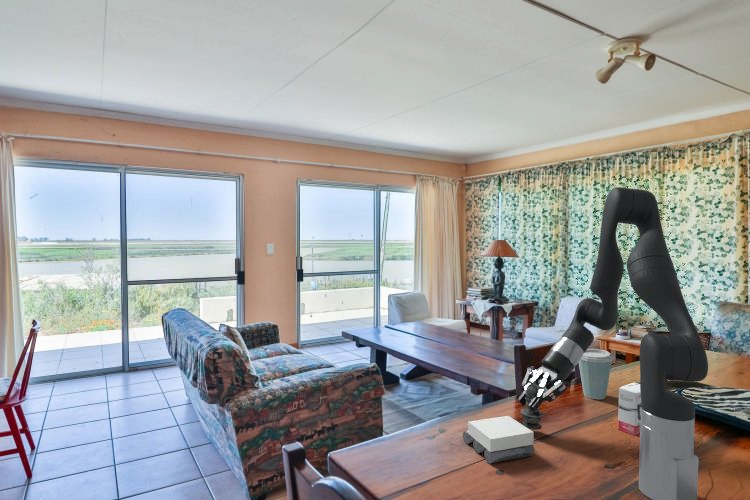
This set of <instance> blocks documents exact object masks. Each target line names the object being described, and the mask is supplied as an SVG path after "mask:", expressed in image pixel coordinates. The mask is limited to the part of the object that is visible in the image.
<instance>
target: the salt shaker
mask: <svg viewBox="0 0 750 500" xmlns="http://www.w3.org/2000/svg"><path fill="white" fill-rule="evenodd" d="M538 391H539V390H538V389H537V387H536V386H535V385H533V382H531V384H530V385H528V386H527V387H526V397H525V399H526V404H525V405H524V406H525V407H524V408H522V409H520V411H519V412H520V415H521V418H522V419H523V420H524V421H522V422H521V423H520V424H522V425H523V426H525V427H526V428H528V429H530V430H531V431H533V430H534V431H538V430H541V429H542V428H543V426H542V424H541V423H540V422H541V421H542V418H543V416H544V413H543V412H542V411H541V410H539V408H538V409H537V410H535V411H534V412H533V411H531V410H530V409H529V408H528V405H529V403H530V402H531V401H532V399H533V398H534V397H535V396H537V393H538Z"/></svg>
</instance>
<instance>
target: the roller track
mask: <svg viewBox="0 0 750 500" xmlns="http://www.w3.org/2000/svg"><path fill="white" fill-rule="evenodd" d="M462 439H463V443H465V444H466V445H469V444H472V447H473V450H474V452H475V453H476V454H481V453H483V455H484V460H485V461H486V462H487V464H493V463H494V464H495V463H500V462H504V461H506V462H507V461H511V460H516V459H520V458H526V457H532V456H534V455H535V453H536V452H535V447H534V444H533V445H527V446H521V447H516V448H510V449H505V450H499V451H493V452H490V451H489V450H487V449H486V448H485V447H484V446H483V445H481V444H480V443H479V442H478V441H477V440H475V439H474V438H473V437H472V436H471V435H469V434H468V430H465V431H463V432H462Z"/></svg>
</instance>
